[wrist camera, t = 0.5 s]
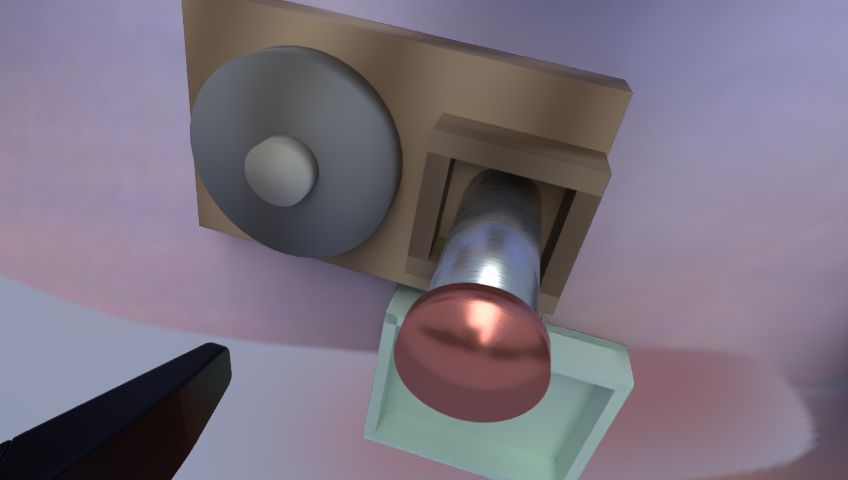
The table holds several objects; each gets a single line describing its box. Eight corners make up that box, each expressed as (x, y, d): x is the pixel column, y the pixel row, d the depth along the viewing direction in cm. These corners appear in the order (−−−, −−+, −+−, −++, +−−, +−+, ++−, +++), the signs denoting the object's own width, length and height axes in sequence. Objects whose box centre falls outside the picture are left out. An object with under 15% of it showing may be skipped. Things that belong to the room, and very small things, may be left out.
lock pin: (563, 173, 17) (574, 332, 10) (533, 255, 19) (524, 439, 12) (466, 148, 18) (406, 284, 10) (446, 231, 20) (383, 396, 12)
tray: (626, 345, 23) (634, 385, 21) (562, 461, 28) (563, 502, 26) (400, 280, 24) (385, 312, 22) (376, 402, 29) (362, 438, 27)
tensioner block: (624, 80, 17) (645, 113, 13) (539, 296, 23) (537, 364, 19) (213, -16, 19) (128, -10, 15) (223, 207, 24) (162, 253, 20)
